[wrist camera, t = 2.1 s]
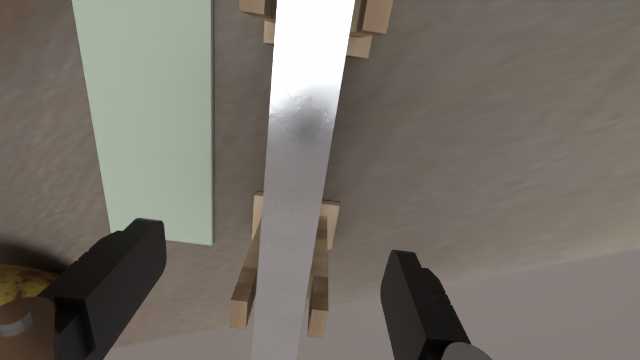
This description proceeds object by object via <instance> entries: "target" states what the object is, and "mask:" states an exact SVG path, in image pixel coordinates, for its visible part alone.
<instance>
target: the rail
mask: <svg viewBox="0 0 640 360" xmlns="http://www.w3.org/2000/svg"><path fill="white" fill-rule="evenodd" d="M354 1H355V0H278V2H277V16H276V29H275V43H274V57H273V70H272V84H271V98H270V111H269V125H268V139H267V152H266V166H265V180H264V193H263V207H262V221H261V234H260V248H259V262H258V275H257V289H256V303H255V316H254V330H253V331H254V332H253V344H252V358H251V359H255V360H296V356H297V349H298V343H299V337H300V331H301V325H302V319H303V313H304V307H305V301H306V295H307V288H308V282H309V276H310V270H311V264H312V258H313V252H314V246H315V240H316V233H317V227H318V221H319V215H320V209H321V203H322V197H323V191H324V185H325V178H326V172H327V166H328V160H329V154H330V148H331V142H332V136H333V130H334V123H335V117H336V111H337V105H338V99H339V93H340V87H341V81H342V74H343V68H344V62H345V56H346V50H347V44H348V38H349V32H350V26H351V19H352V13H353V7H354Z"/></svg>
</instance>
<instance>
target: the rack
mask: <svg viewBox="0 0 640 360" xmlns="http://www.w3.org/2000/svg"><path fill="white" fill-rule="evenodd" d="M277 2H278V0H239V11H242V12H244V13H247V14H250V15H252V16H255V17H258V18H260V19H263V20H265V26H264V42H265V43H271V44H274V43H275V29H276V16H277ZM392 4H393V0H355V1H354V7H353V13H352V19H351V26H350V32H349V38H348V44H347V50H346V55H349V56H355V57H362V58H368V57H369V52H370V47H371V42H372V37H373V36H375V35H382V34H386V33H387V28H388V23H389V19H390V14H391V9H392ZM263 193H264V192H258V191H256V193H255V195H254V210H253V227H252V240H253V241H252V244H251V246H250V249H249V252H248V254H247V257H246V260H245V263H244V265H243V268H242V271H241V274H240V276H239V279H238V282H237V285H236V287H235V290H234V293H233V295H232V298H231V312H230V328H237V329H246V326H247V323H248V319H249V316H250V312H251V308H252V305H253V301H254V298H255V294H256V289H257V275H258V262H259V248H260V234H261V221H262V207H263ZM339 208H340V203H339V202H334V201H326V200H322V203H321V209H320V215H319V221H318V227H317V233H316V240H315V246H314V252H313V258H312V264H311V270H310V276H309V282H308V288H307V295H306V300H308V301H310V302H309V321H308V337H318V338H323V334H324V330H325V324H326V320H327V315H328V249H332V244H333V239H334V234H335V229H336V223H337V218H338V213H339Z"/></svg>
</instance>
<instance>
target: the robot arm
mask: <svg viewBox="0 0 640 360" xmlns="http://www.w3.org/2000/svg"><path fill="white" fill-rule="evenodd" d="M166 259H167V255H166V242H165V229H164V223H163V221H161V220H153V219H145V218H136V219H135V220H134V221H133V222H132V223H131V224H129V225H128V226H127V227H126V228H125V229H124V230H123V231H119V230H117V231H115V232H113V233H111V234H109V235H107V236H105V237H103V238H101V239H100V240H99V241H98V242H97V243H96V244H94V245H93V246H92V247H91V248H90V249H89V251H88V252H85V253H84V254H83V255H82V256H81V257H80V258H79V260H78V261H75V262H74V263H73V264H72V265H71V266H70V267H69V268H67V269H66V270H65V271H64V272H63V273H62V274H61V275H60V276H58V277H57V278H56V279H55V280H54V281H53V282H52V283H50V284H49V285H48V286H47V287H46V288H45V289H44V290H43V291H41V292H40V293H39V294H38V295H37V296H36V297H26V298H21V299H17V300H14V301H11V302H8V303H6V304H3V305H1V306H0V360H103V359H104V357H105V356H106V355H107V353H108V352H109V350H110V349H111V347H112V346H113V345H114V343H115V342H116V340H117V339H118V337H119V336H120V334H121V333H122V331H123V330H124V329H125V327H126V326H127V324H128V323H129V321H130V320H131V318H132V317H133V316H134V314H135V313H136V311H137V310H138V308H139V307H140V305H141V304H142V303H143V301H144V300H145V298H146V297H147V295H148V294H149V292H150V291H151V289H152V288H153V287H154V285H155V284H156V282H157V281H158V279H159V278H160V276H161V275H162V273H163V271H164V268H165V265H166ZM381 302H382V307H383V311H384V315H385V320H386V324H387V328H388V333H389V337H390V341H391V346H392V350H393V354H394V358H395V360H492V359H491V358H490V357H489V356H488V355H487V354H486V353H484V352H483V351H482V350H480V349H479V348H477V347H475V346H473V345H471V343H470V341H469V339H468V337H467V335H466V333H465V331H464V329H463V327H462V325H461V323H460V320H459V318H458V316H457V314H456V312H455V310H454V308H453V306H452V305H450V300H449V298H448V296H447V295H446V294H445V290H444V288H443V286H442V284H441V282H440V280H439V279H438V278H437V277H436V276H435V275H434V274H433V273H432V272H431V271H430V270H429V269H428V268H422V267H421V265H420V263H419V260H418V258H417V256H416V254H415V253H414V252H408V251H399V250H392V251H391V253H390V256H389V259H388V263H387V266H386V270H385V273H384V276H383V280H382V283H381Z"/></svg>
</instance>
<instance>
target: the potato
mask: <svg viewBox="0 0 640 360" xmlns="http://www.w3.org/2000/svg"><path fill="white" fill-rule="evenodd" d="M58 276H60V275H58V274H56V273H53V272H49V271H45V270H42V269H38V268H33V267H27V266H20V265H13V264H7V263H1V262H0V306H1V305H3V304H6V303H8V302H11V301H14V300H17V299H21V298H26V297H36V296H37V295H38V294H39V293H40V292H41V291H43V290H44V289H45V288H46V287H47V286H48V285H49V284H50V283H52V282H53V281H54V280H55V279H56V278H57V277H58Z"/></svg>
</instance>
